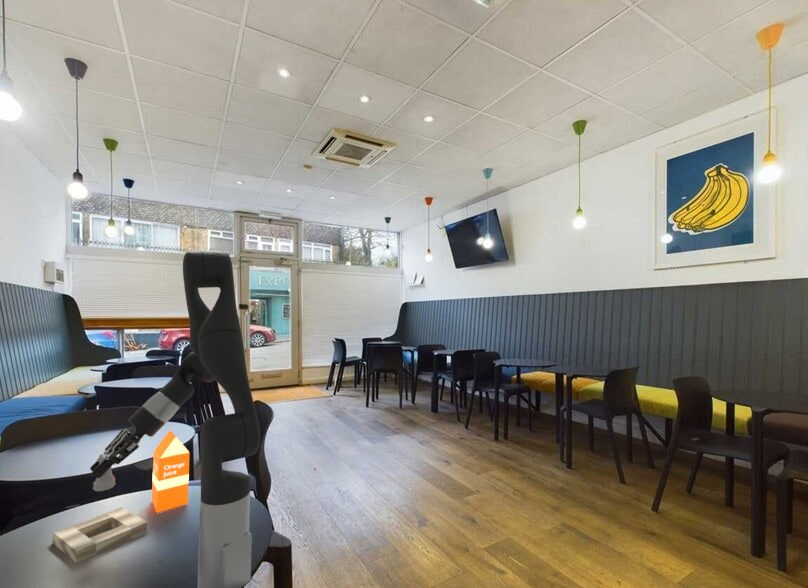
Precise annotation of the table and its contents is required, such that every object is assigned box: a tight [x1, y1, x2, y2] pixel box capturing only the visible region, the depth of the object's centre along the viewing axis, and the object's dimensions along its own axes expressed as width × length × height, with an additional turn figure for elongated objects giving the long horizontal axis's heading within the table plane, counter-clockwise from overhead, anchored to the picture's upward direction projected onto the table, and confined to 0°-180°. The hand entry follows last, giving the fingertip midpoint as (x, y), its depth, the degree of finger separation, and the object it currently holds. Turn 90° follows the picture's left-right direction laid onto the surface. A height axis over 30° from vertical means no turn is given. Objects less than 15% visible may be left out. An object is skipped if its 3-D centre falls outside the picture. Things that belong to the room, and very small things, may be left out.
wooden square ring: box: [52, 507, 148, 564], centre depth 92 cm, size 14×14×2 cm
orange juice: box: [151, 429, 191, 514], centre depth 110 cm, size 8×9×20 cm
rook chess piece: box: [92, 452, 116, 492], centre depth 93 cm, size 4×4×8 cm
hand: (94, 473), depth 92 cm, fingers closed on rook chess piece, 3 cm apart
